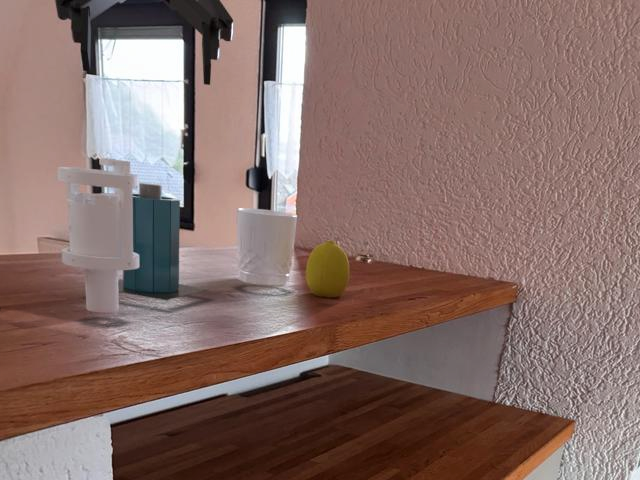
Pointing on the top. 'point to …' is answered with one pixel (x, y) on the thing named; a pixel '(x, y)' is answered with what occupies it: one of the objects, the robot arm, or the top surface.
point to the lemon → (327, 270)
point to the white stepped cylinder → (101, 230)
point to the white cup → (265, 246)
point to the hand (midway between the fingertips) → (147, 68)
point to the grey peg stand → (156, 193)
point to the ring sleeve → (155, 245)
